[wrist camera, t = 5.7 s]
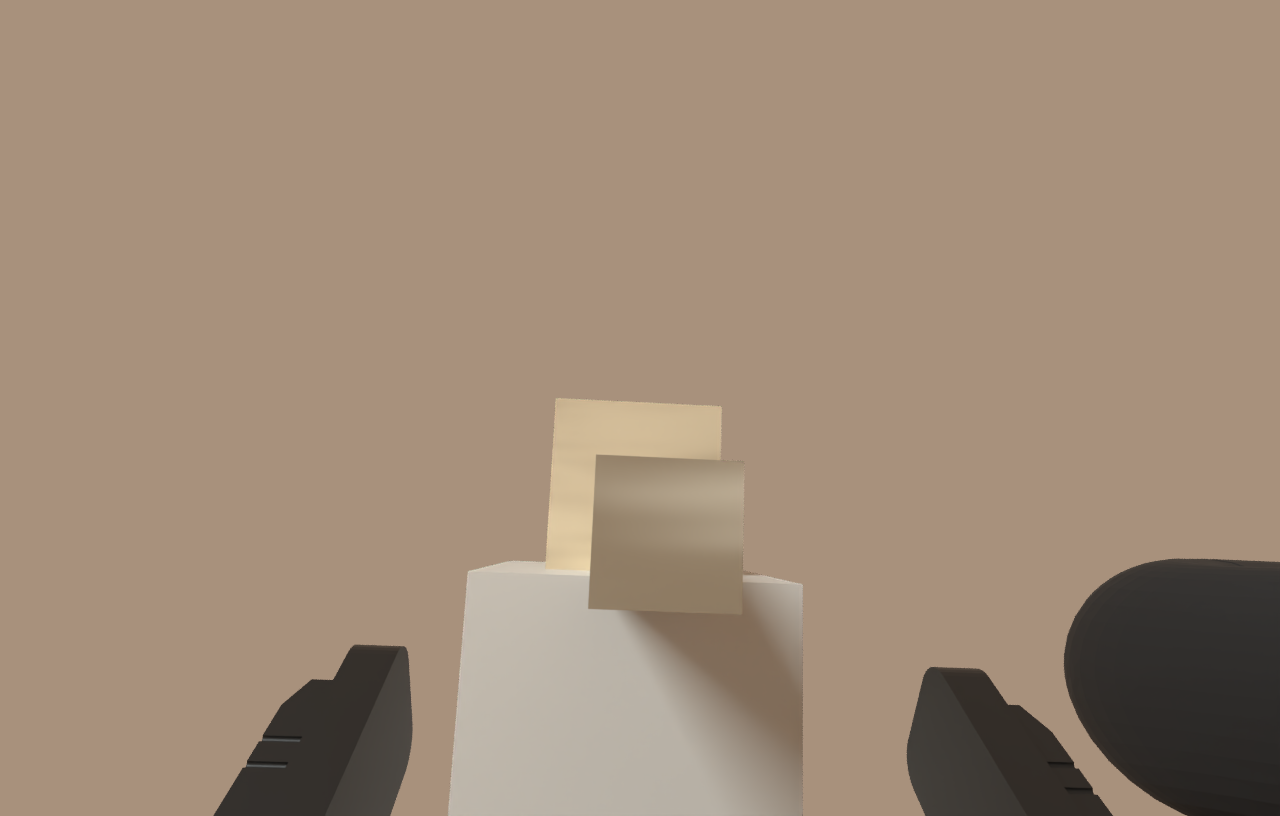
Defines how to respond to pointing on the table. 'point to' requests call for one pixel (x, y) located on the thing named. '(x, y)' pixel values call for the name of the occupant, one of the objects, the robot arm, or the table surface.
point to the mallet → (647, 506)
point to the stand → (625, 702)
